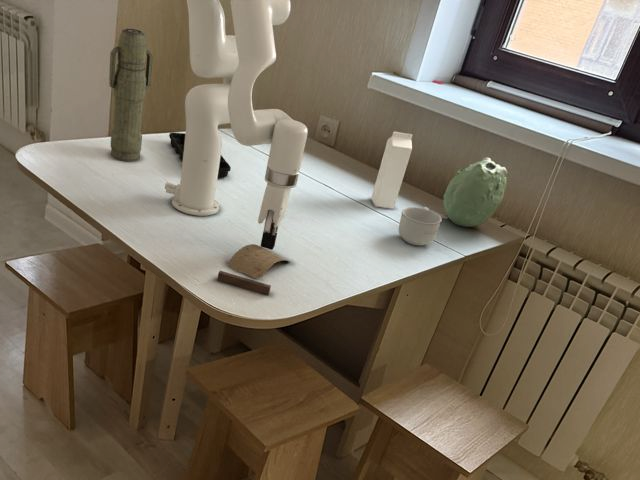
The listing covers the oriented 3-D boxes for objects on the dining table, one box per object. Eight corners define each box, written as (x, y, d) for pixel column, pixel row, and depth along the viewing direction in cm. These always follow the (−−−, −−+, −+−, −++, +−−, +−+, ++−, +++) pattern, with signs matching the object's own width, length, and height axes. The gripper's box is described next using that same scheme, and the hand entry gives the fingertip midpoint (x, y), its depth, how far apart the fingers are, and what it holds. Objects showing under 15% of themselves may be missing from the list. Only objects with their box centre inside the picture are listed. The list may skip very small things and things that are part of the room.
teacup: (424, 253, 183) (433, 226, 179) (388, 238, 187) (396, 212, 183) (441, 239, 194) (450, 213, 189) (406, 225, 197) (415, 199, 193)
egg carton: (200, 142, 225) (201, 131, 223) (246, 178, 205) (248, 166, 203) (151, 144, 216) (152, 132, 214) (194, 181, 196) (196, 169, 194)
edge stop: (217, 280, 151) (218, 272, 150) (218, 278, 152) (220, 270, 151) (268, 295, 150) (269, 287, 149) (269, 293, 151) (271, 285, 150)
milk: (393, 209, 206) (416, 138, 194) (374, 206, 205) (396, 134, 193) (389, 201, 211) (410, 131, 199) (370, 198, 210) (390, 128, 198)
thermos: (150, 160, 204) (160, 35, 184) (115, 163, 197) (122, 34, 178) (135, 149, 209) (144, 27, 190) (100, 152, 202) (106, 25, 183)
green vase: (424, 218, 204) (446, 154, 193) (458, 209, 216) (480, 148, 205) (467, 241, 196) (493, 175, 184) (500, 230, 208) (526, 167, 196)
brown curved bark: (259, 281, 154) (261, 271, 153) (224, 264, 158) (226, 253, 157) (293, 263, 165) (295, 253, 163) (259, 247, 169) (261, 237, 167)
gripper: (273, 162, 163) (260, 231, 173) (257, 181, 151) (244, 255, 161) (303, 170, 162) (288, 239, 172) (290, 190, 150) (274, 263, 160)
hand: (267, 246), depth 167 cm, fingers closed
